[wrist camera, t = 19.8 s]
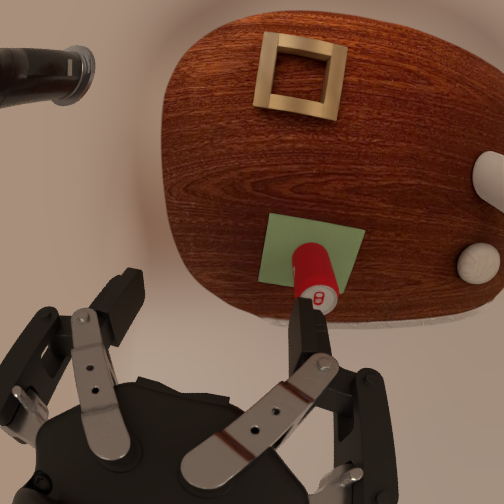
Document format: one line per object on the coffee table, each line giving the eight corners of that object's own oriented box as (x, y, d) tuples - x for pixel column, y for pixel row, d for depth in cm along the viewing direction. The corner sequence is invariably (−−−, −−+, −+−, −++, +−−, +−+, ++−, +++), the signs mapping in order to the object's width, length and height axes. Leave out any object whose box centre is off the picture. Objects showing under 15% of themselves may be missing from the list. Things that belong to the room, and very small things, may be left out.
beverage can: (290, 271, 48) (292, 318, 37) (292, 239, 44) (296, 282, 34) (325, 272, 47) (336, 319, 37) (330, 240, 44) (345, 283, 34)
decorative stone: (497, 245, 41) (510, 256, 36) (480, 279, 45) (491, 292, 41) (464, 230, 41) (478, 242, 36) (446, 269, 45) (457, 283, 41)
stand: (255, 106, 35) (252, 106, 32) (265, 38, 30) (264, 31, 26) (330, 120, 35) (336, 121, 32) (341, 53, 30) (347, 47, 26)
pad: (258, 280, 49) (257, 281, 49) (269, 212, 43) (269, 213, 43) (342, 292, 49) (342, 293, 49) (364, 229, 43) (365, 230, 43)
